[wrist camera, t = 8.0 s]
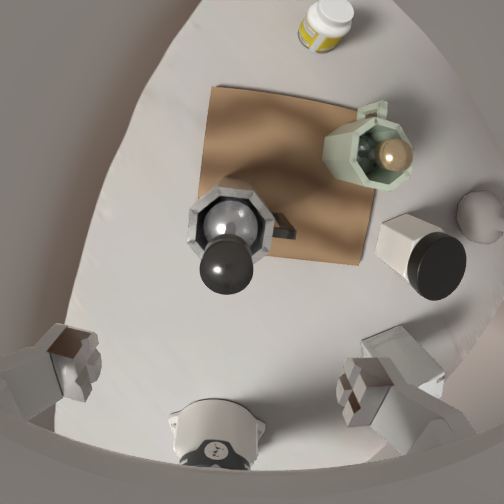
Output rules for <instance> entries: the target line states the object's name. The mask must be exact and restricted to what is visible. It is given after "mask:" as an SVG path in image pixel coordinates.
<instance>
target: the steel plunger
mask: <svg viewBox="0 0 504 504" xmlns="http://www.w3.org/2000/svg"><path fill="white" fill-rule="evenodd" d="M203 229H204V235H205V238H206V240H207V241H208V244H207V246H206V248H205V251H204V254H203V257H202V260H201V263H200V275H201V278H202V280H203V282H204V284H205V285H206V286H207V287H208V288H209V289H211V290H212V291H214V292H216V293H219V294H224V295H229V294H235V293H238V292H240V291H242V290H243V289H244V288H246V286H247V285H248V284H249V283H250V281H251V279H252V276H253V262H252V255H251V250H250V246H251V244H252V243H253V242H254V240H255V238H256V235H257V231H258V224H257V219H256V216H255V214H254V212H253V211H252V209H251V208H250V207H249V206H247V205H246V204H245V203H243V202H241V201H237V200H224V201H221V202H219V203H217V204H215V205H214V206H213V207H212V208H211V209H210V210H209V212H208V213H207V215H206V217H205V220H204V225H203Z"/></svg>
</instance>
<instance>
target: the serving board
mask: <svg viewBox="0 0 504 504" xmlns="http://www.w3.org/2000/svg"><path fill="white" fill-rule="evenodd" d="M357 112H358V111H355V110H351V109H347V108H343V107H339V106H335V105H330V104H326V103H321V102H316V101H312V100H307V99H301V98H296V97H290V96H285V95H278V94H272V93H265V92H258V91H250V90H242V89H233V88H222V87H212V89H211V96H210V102H209V109H208V116H207V124H206V131H205V139H204V147H203V155H202V164H201V173H200V182H199V191H198V199H199V198H200V197H201V196H202V195H203V194H204V193H205V192H206V191H207V190H208V189H210V188H211V187H212V186H213V185H215V184H216V183H217V182H218V181H220V180H221V179H222V178H223V177H230V178H239V179H248V180H249V181H250V183H251V184H252V185H253V186H254V188H255V189H256V190H257V192H258V193H259V194H260V195H261V197H262V198H263V199H264V201H265V203H266V205H267V206H268V208H269V210H270V211H271V212H276V213H283V214H284V215H285V217H286V218H287V219H288V221H289V222H290V223H291V224H292V226H293V227H294V228H295V230H296V231H297V233H296V239H295V240H292V239H284V238H275V237H272V241H271V248H270V253H268V254H267V255H265V256H273V257H282V258H291V259H300V260H310V261H319V262H328V263H337V264H347V265H356V266H359V263H360V259H361V254H362V250H363V246H364V241H365V236H366V232H367V227H368V222H369V217H370V212H371V207H372V201H373V196H374V190H375V188H370V187H365V186H361V185H358V184H354V183H350V182H346V181H343V180H339V179H335V178H334V177H333V175H332V174H331V172H330V171H329V169H328V168H327V166H326V165H325V164H324V162H323V161H322V155H323V148H324V140H325V137H326V136H327V135H329V134H330V133H332V132H333V131H334V130H336V129H337V128H339V127H340V126H342V125H344V124H348V123H352V122H356V121H357ZM372 117H377V116H373V115H370V114H368V115H365V119H368V118H372ZM274 227H280V226H279V225H278V223H277V221H276V220H275V221H274Z"/></svg>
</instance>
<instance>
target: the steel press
mask: <svg viewBox="0 0 504 504" xmlns="http://www.w3.org/2000/svg"><path fill="white" fill-rule="evenodd" d="M224 200H237V201H241V202H243V203H245V204H246V205H247V206H249V207H250V208H251V209H252V211H253V212H254V214H255V216H256V219H257V224H258V231H257V235H256V238H255V240H254V242H253V243H252V244H251V246H250V250H251V255H252V262H253V264H255V263H256V262H257V261H259V260H260V259H261V258H263V257H264V256H265V255H267V254H268V253H270V248H271V241H272V237H275V238H284V239H292V240H295V239H296V233H297V231H296V230H295V228H294V227H293V226H292V224H291V223H290V222H289V221H288V219H287V218H286V217H285V215H284V214H283V213H276V212H271V211H270V210H269V208H268V206H267V205H266V203H265V201H264V199H263V198H262V197H261V195H260V194H259V193H258V192H257V190H256V189H255V188H254V186H253V185H252V184H251V183H250V181H249V180H248V179H239V178H230V177H223V178H222V179H221V180H220V181H218V182H217V183H216V184H215V185H213V186H212V187H211V188H210V189H208V190H207V191H206V192H205V193H204V194H203V195H202V196H201V197H200V198H199V199H198V200H197V201H196V203H195V204H194V205H193V206H192V207H191V208H190V210H189V222H188V235H187V244H188V245H189V246H190V247H191V249H192V250H193V251H194V252H195V253H196V254H197V255H198V257H199V258H200V259H201V260H202V257H203V254H204V251H205V248H206V246H207V244H208V241H207V240H206V238H205V235H204V229H203V225H204V220H205V217H206V215H207V213H208V212H209V210H210V209H211V208H212V207H213V206H214V205H215V204H217V203H219V202H221V201H224ZM275 220H276V221H277V223H278V225H279V226H280V227H274V221H275Z"/></svg>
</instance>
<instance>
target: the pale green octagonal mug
mask: <svg viewBox="0 0 504 504" xmlns="http://www.w3.org/2000/svg"><path fill="white" fill-rule="evenodd" d="M387 109H388V102H385V101H382V100H381V101H378V102H375V103H372V104H369V105H366V106H363V107H360V108H358V112H357V121H356V122H352V123H348V124H344V125H342V126H340V127H339V128H337V129H336V130H334V131H333V132H332V133H330V134H329V135H327V136H326V137H325V140H324V148H323V155H322V161H323V162H324V164H325V165H326V166H327V168H328V169H329V171H330V172H331V174H332V175H333V177H334V178H335V179H339V180H343V181H346V182H350V183H354V184H358V185H361V186H365V187H370V188H375V189H379V190H384V191H389V192H391V191H392V190H393V189H395V188H396V187H397V186H398V185H400V184H401V183H402V182H403V181H405V180H406V179H407V178H408V177H410V173H411V167H412V163H411V165H410V167H409V168H408V169H407V170H405V171H401V172H400V171H392V170H386V169H383V168H381V167H380V166H379V165H378V164H377V165H376V166H375V168H374V169H373V170H372V171H370V172H368V173H364V172H363V170H362V168H361V167H360V165H359V164H358V162H357V161H356V157H357V150H358V143H359V136H361V135H362V134H364V135H367V136H369V137H370V138H371V139H372V140H373V141H374V142H375V143H376V145H377V144H378V143H379V142H380V141H382V140H387V139H402V140H404V141H406V142H407V143H408V144H409V145H410V147H411V149H412V153H413V152H414V148H413V146H412V145H411V143H410V141H409V139H408V137H407V136H406V134H405V132H404V131H403V129H402V127H401V126H400V124H397V123H394V122H390V121H387V120H386V119H387ZM375 112H377V117H372V118H368V119H365V115H368V114H371V113H375Z"/></svg>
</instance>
